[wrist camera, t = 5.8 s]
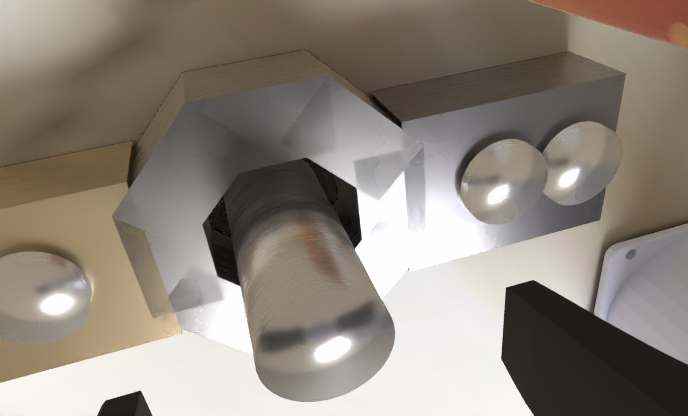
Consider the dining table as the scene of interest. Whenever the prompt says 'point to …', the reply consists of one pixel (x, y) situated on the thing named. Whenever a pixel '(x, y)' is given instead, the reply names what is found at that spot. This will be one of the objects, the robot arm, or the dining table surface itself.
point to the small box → (633, 16)
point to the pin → (303, 286)
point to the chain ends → (278, 147)
